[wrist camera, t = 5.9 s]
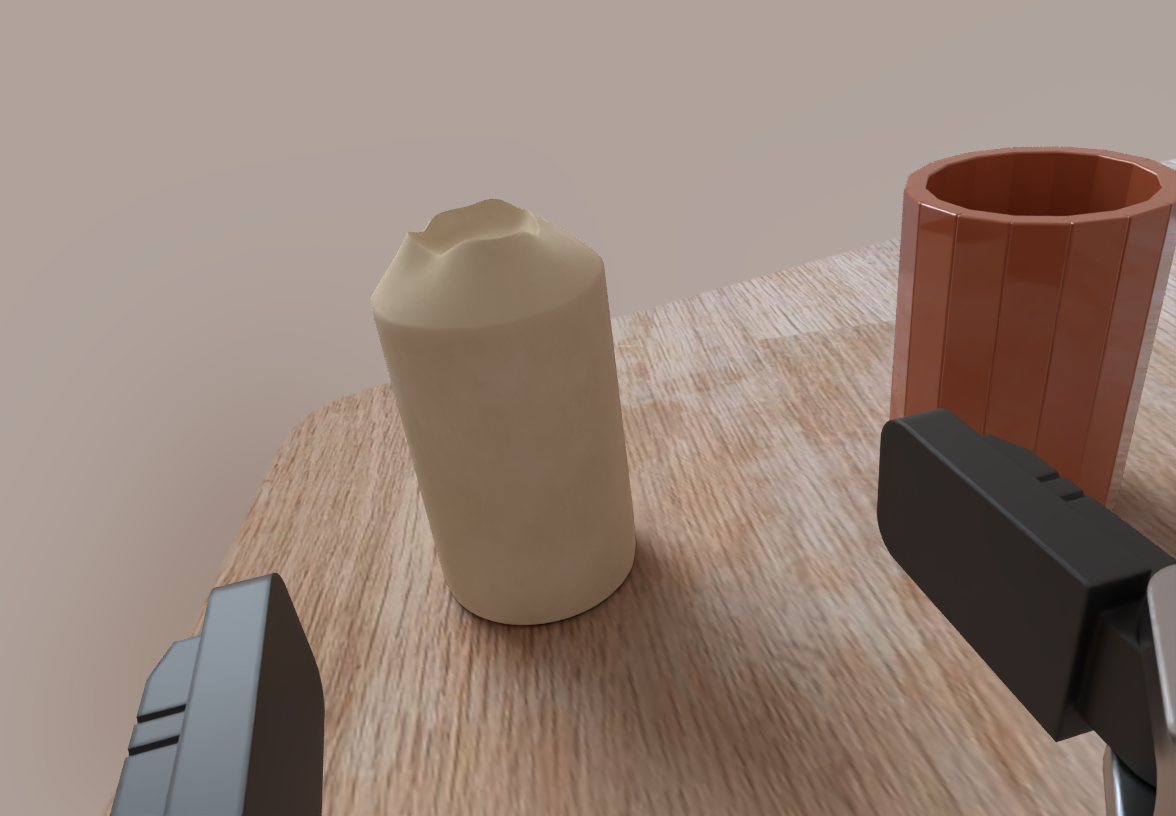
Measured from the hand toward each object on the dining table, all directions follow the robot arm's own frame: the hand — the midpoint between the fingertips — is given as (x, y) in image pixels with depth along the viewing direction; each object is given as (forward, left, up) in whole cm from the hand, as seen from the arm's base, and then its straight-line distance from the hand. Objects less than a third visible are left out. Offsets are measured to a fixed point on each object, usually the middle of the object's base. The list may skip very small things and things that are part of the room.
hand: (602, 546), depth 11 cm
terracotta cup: (+10, +11, -9) cm, 18 cm away
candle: (-3, +10, -9) cm, 14 cm away
